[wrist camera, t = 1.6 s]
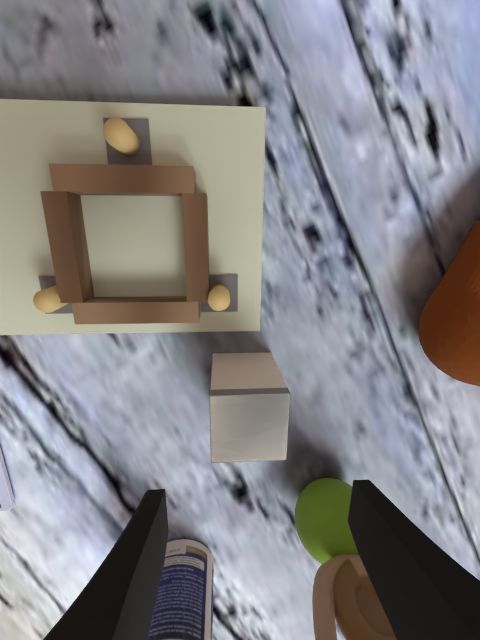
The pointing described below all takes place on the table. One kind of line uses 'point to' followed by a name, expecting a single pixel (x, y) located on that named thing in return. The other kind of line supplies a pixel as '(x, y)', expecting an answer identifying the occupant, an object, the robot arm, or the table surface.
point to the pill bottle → (184, 594)
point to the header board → (132, 210)
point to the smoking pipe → (456, 315)
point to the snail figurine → (338, 566)
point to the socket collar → (73, 250)
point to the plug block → (247, 408)
